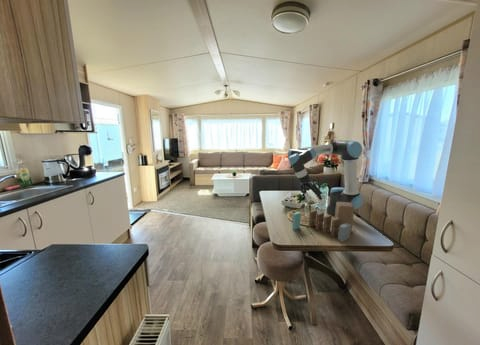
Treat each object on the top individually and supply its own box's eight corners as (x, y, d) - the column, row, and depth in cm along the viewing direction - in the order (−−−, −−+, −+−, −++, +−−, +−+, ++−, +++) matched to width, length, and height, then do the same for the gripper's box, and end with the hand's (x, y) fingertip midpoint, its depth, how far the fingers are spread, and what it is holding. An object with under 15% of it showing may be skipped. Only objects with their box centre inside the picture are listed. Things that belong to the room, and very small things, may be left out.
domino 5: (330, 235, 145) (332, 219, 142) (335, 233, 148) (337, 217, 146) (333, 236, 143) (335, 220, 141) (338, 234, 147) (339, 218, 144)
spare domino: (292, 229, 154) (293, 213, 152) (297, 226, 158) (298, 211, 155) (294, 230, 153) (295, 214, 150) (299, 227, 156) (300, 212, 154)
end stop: (344, 236, 144) (346, 222, 142) (349, 237, 142) (350, 224, 140) (337, 239, 139) (339, 225, 137) (342, 241, 137) (343, 227, 135)
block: (351, 233, 148) (355, 207, 144) (336, 232, 150) (339, 205, 146) (347, 227, 157) (350, 202, 153) (333, 226, 159) (335, 201, 155)
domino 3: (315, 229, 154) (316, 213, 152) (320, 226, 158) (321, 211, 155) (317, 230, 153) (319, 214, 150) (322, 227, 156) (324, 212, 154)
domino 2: (308, 226, 159) (309, 211, 157) (313, 224, 163) (314, 209, 160) (310, 227, 157) (312, 212, 155) (315, 225, 161) (317, 210, 159)
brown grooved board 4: (322, 232, 150) (324, 216, 147) (327, 230, 153) (329, 214, 151) (325, 233, 148) (327, 217, 146) (330, 231, 151) (331, 215, 149)
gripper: (288, 177, 153) (301, 202, 156) (309, 178, 129) (323, 207, 132) (296, 172, 155) (308, 197, 158) (318, 172, 131) (332, 201, 134)
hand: (315, 202), depth 145 cm, fingers open, 13 cm apart
